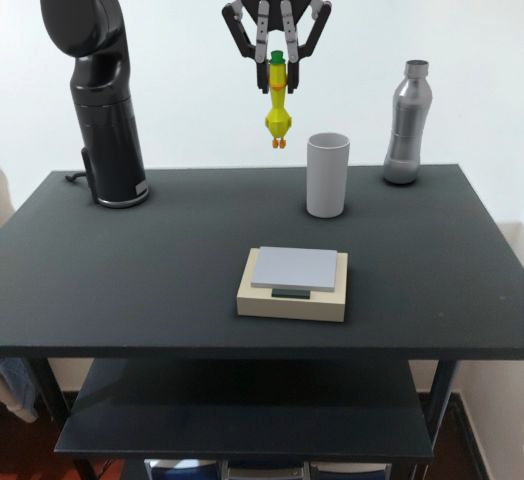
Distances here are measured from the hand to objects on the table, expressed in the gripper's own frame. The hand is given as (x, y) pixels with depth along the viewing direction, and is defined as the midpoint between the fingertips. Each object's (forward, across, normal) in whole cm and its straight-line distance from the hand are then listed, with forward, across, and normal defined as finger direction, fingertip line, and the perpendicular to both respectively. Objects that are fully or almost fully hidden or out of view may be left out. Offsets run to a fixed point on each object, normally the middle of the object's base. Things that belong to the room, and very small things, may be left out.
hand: (278, 91), depth 71 cm
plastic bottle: (+23, -20, -24) cm, 38 cm away
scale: (+23, -3, +13) cm, 26 cm away
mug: (+23, -7, -13) cm, 27 cm away
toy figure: (+7, 0, 0) cm, 7 cm away
